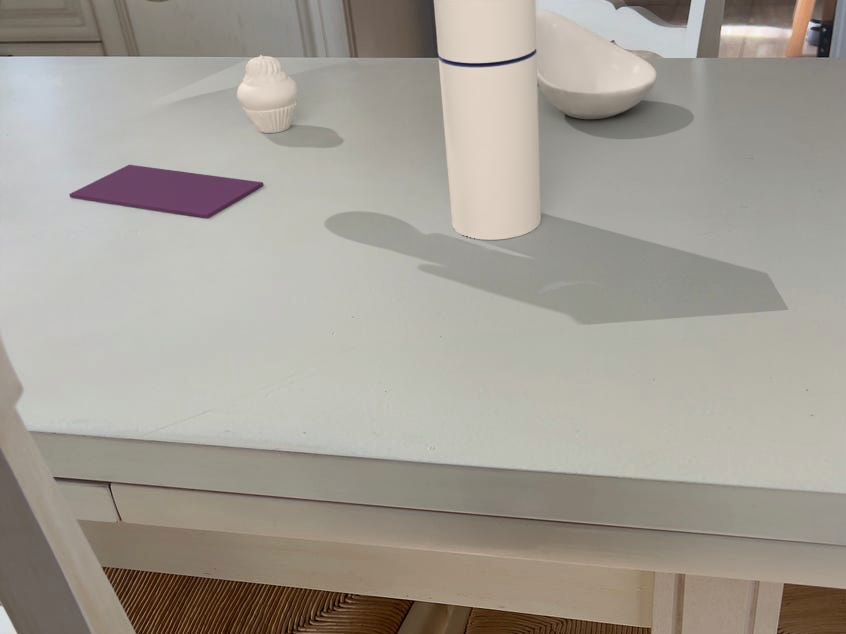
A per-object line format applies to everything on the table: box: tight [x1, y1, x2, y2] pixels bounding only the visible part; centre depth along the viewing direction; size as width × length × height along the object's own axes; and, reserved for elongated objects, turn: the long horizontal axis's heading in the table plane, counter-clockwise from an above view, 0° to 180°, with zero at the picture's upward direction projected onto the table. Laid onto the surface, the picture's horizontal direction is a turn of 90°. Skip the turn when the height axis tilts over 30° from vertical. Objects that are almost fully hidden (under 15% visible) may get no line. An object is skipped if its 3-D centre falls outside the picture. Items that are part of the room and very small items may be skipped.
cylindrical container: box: [433, 0, 542, 241], centre depth 74 cm, size 7×7×25 cm
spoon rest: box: [536, 9, 658, 120], centre depth 104 cm, size 24×12×7 cm, turn 29°
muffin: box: [236, 54, 299, 134], centre depth 102 cm, size 6×6×7 cm
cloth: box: [69, 164, 264, 219], centre depth 92 cm, size 16×8×1 cm, turn 63°
